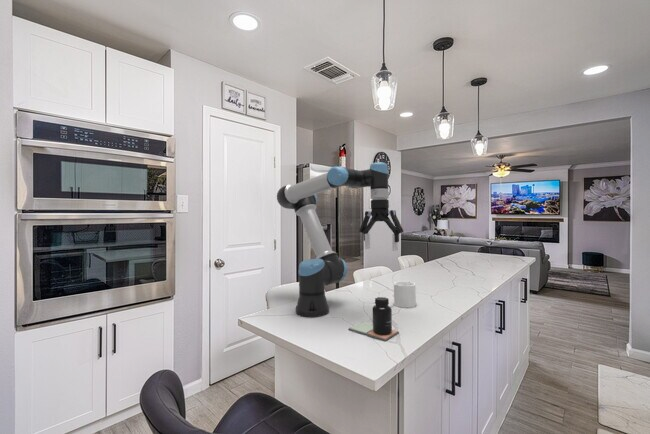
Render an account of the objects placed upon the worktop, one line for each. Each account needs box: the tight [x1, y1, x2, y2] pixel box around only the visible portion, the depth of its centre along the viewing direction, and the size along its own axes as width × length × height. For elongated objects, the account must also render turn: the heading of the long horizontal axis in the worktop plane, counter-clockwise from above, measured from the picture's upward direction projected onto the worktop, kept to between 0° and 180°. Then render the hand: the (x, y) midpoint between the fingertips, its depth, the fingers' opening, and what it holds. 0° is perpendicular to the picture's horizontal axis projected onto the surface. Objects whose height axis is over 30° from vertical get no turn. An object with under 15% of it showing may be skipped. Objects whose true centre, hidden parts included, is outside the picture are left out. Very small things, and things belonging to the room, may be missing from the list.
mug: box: [393, 281, 417, 309], centre depth 142 cm, size 13×10×10 cm
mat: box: [347, 321, 400, 342], centre depth 108 cm, size 16×10×1 cm, turn 47°
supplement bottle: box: [372, 296, 393, 335], centre depth 106 cm, size 7×7×12 cm
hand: (380, 249), depth 124 cm, fingers open, 13 cm apart
